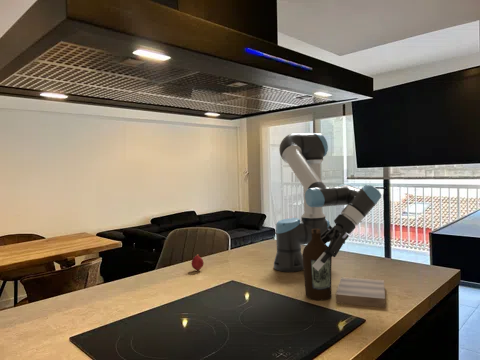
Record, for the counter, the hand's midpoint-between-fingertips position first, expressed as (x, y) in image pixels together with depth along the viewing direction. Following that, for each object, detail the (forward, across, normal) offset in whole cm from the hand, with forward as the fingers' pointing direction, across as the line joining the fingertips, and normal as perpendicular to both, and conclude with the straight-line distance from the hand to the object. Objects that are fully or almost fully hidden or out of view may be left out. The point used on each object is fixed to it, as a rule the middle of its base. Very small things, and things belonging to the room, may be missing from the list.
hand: (309, 264), depth 129 cm
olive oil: (+7, 0, -11) cm, 13 cm away
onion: (+38, +46, +20) cm, 63 cm away
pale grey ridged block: (-4, -3, -22) cm, 22 cm away
